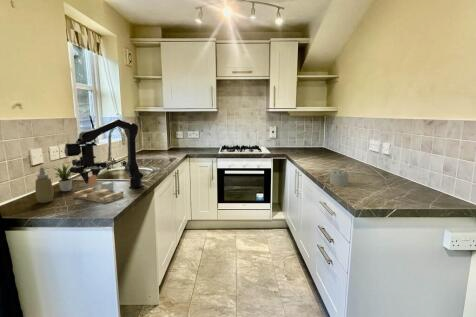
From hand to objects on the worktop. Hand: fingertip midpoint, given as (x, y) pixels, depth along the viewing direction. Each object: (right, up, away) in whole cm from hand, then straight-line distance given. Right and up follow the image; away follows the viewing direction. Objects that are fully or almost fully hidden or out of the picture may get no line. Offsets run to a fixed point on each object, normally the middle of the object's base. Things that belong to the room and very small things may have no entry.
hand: (90, 182), depth 153 cm
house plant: (-21, -6, +12) cm, 25 cm away
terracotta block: (0, -1, 0) cm, 1 cm away
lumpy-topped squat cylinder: (+147, -4, +27) cm, 150 cm away
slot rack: (+5, -8, -1) cm, 10 cm away
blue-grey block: (+4, -6, +11) cm, 13 cm away
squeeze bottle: (-19, -9, -8) cm, 23 cm away
